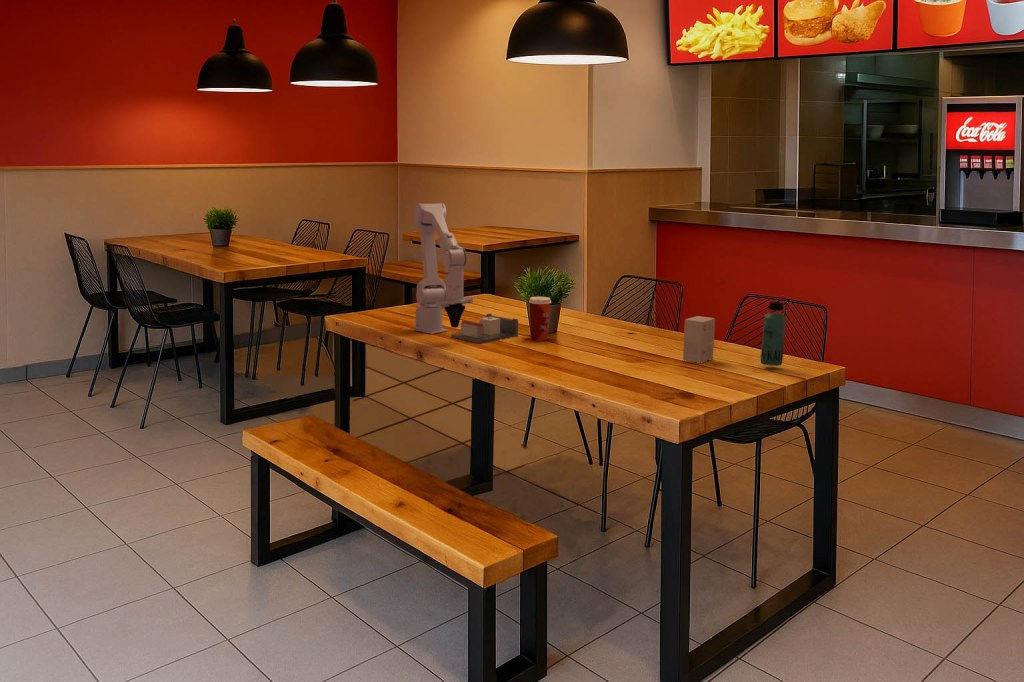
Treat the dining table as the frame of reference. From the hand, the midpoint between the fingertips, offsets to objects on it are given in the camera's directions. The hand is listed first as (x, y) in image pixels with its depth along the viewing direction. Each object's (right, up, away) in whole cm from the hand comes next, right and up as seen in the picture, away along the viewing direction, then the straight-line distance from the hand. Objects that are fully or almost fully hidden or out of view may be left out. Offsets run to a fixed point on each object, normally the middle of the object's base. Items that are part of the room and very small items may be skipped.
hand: (454, 327), depth 303 cm
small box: (+76, -11, -18) cm, 79 cm away
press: (+10, -3, +11) cm, 15 cm away
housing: (+11, -2, +12) cm, 17 cm away
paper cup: (+28, -4, +9) cm, 30 cm away
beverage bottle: (+96, -13, -27) cm, 101 cm away
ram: (+5, -3, +7) cm, 9 cm away
